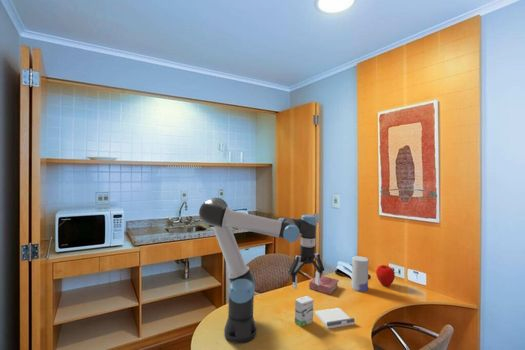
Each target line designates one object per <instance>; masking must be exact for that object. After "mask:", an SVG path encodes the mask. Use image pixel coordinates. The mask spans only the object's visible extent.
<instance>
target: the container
mask: <svg viewBox="0 0 525 350" xmlns="http://www.w3.org/2000/svg"><path fill="white" fill-rule="evenodd" d="M351 261H352V262H351V266H352V267H351V289H352V290H354V291H357V292H361V293H364V292H368V290H369V266H370V265H369V258H368V257H365V256H360V255H355V256H352V260H351Z"/></svg>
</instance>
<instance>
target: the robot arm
mask: <svg viewBox="0 0 525 350" xmlns="http://www.w3.org/2000/svg"><path fill="white" fill-rule="evenodd" d="M198 215H199V218H200V220H201V221H202V222H203V223H205V224H206V225H208V228H209V229H212V230H213V231H214V234H215V237H216V239H217V242H218V245H219V247H220V250H221V252H222V255H223V258H224V261H225V263H226V266H227V269H228V271H229V274H228V279H229V280H228V281H230V284H229V286H228V291H227V292H228V312H227V313H228V315H227V320H226V323H225V325H224V330H223V331H224V332H223V335H224V337H225V339H226V340H227V341H229V342H230V343H234V344H245V343H249V342H250V341H252V340H254V339H255V337H257V333H258V331H257V330H258V329H257V324H256V322H255V318H254V301H255V299H254V298H255V291H256V288H257V287H256V286H257V279H256V277H255V275H254V273H253V272H251V269H250V266H248V265H246V264H245V261H244V259H243V258H244V257H243V256H242V253H241V251H240V250H241V249H240V248H239V245H238V243H237V240H236V236H235V235H234V233H233V228H234V229H239V230H244V231H248V232H253V233H256V234H257V233H258V234H261V235H267V236H271V237H277V238H279V239H284V240H285V241H286V242H289V243H295V242H297V241H298V239H299V238H300V249H299V250H300V251H299V253H300V255H297V254H295V255H294V258H293V262H292V264H291V266H290V268H289V271H288V275H290V276H291V282H292V288H293V290H297V289H298V287H297V286H298V276H297V275H298V273H299V271H300V270H301V269H302V267H303V266H305V265H308V264H309V265H310V264H311V265H312V266H313V267H314V269H315V270H316V271H315V276H314V278H315V284H317V285H318V286H319V283H320V278H321V276H322V274H323V272H324V271H325V267H324V265H323V262H322V260H321V255H320V254H319V253H318V252H316V235H317V232H316V231H317V217H316V216H315V215H313V214H302V215H301V218H287V217H280V218H278V219H277V220H276V219H273V218H269V217H264V216H260V215H255V214H254V215H253V214H250V213H245V212H241V211H236V210H232V209H230V208H229V206H228V203H227V201H225V200H224V199H223V198H220V197H212V198H210V199H208V200H206V201H204V202H203V203H202V204H201V205H200V207H199V210H198ZM315 260H316V261H315ZM316 262H317V263H316Z"/></svg>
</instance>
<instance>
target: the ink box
mask: <svg viewBox="0 0 525 350" xmlns="http://www.w3.org/2000/svg"><path fill="white" fill-rule="evenodd" d="M314 300H315V299H313V298H312V297H310V296H308V295H305V296H302V297H298V298H295V304H294V305H295V307H294V323H295V324H296V325H298V326H299V327H305V326H307V325H310V324H311V323H313V322H314V303H315V302H314Z"/></svg>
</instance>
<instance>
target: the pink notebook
mask: <svg viewBox="0 0 525 350" xmlns="http://www.w3.org/2000/svg"><path fill="white" fill-rule="evenodd" d="M339 281H340V280H339V279H336V278H332V277H328V276H325V275H321V278H320V283H319V286H318V285H317V284H315V277H314V278H312V279H311V280H310V281H309V284H308V285H309V286H308V287H309V290H312V291H315V292H319V293H322V294H324V295H329V296H332V295H333V294H334V292H335V291H336V290H337V289H338V288H339V285H338V283H339Z"/></svg>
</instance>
